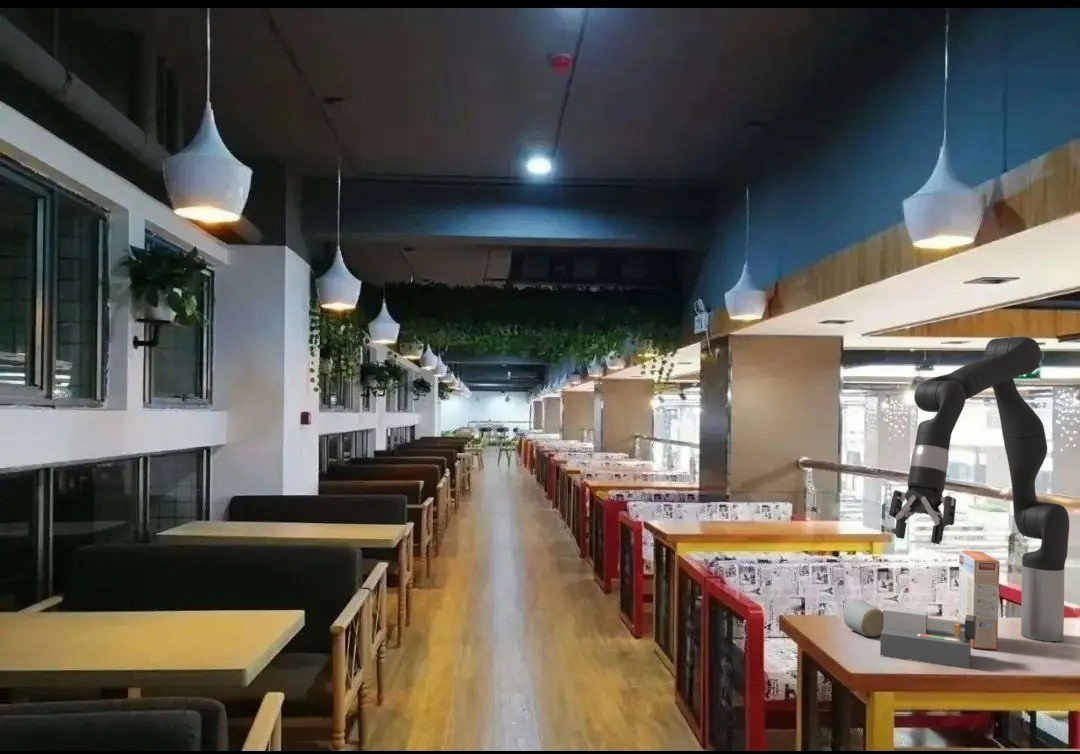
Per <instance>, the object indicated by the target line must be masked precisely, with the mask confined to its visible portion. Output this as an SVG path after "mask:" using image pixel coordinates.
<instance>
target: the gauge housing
mask: <svg viewBox="0 0 1080 754" xmlns="http://www.w3.org/2000/svg"><path fill="white" fill-rule="evenodd" d="M883 613H884V626H883V630H882V632H881V635H880V643H879V644H880V649H879V651H880V653H879V655H883V656H882V657H886V656H889V657H888V658H893V657H895V658H894V659H899V658H902V659H901V660H906V659H912V660H911V661H913V660H918V661H917V662H920V661H924V662H923V663H927V662H930V663H929V664H934V663H937V664H936V665H941V666H950V667H956V668H964V669H970V668H969V667H970V660H971V654H972V653H971V652H972V651H971V649H972V647H971V639H965V641H964V640H960V633H959V639H956V638H955V632H952V631H944V630H936V629H928V628H926V618H929V615H928V614H929V612H928V610H921V609H914V608H904V607H896V606H895V607H894V606H888V605H887V606H885V607H884V610H883Z"/></svg>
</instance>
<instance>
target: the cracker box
mask: <svg viewBox="0 0 1080 754" xmlns="http://www.w3.org/2000/svg"><path fill="white" fill-rule="evenodd" d="M958 560H959V562H958V563H959V564H958V565H959V566H958V602H957V603H958V609H957V613H958V614H957V621H959V622H965V618H966V615H973V616H976V635H975V640H973V639H971V649H981V650H991V651H993V650H995V651H998V641H999V640H998V637H999V636H998V635H999V634H998V632H999V631H998V630H999V602H1000V601H999V595H1000V592H999V590H1000V561H999V560H998V559H996V558H994V557H992V556H990V555H988V554H987V553H985V552H983V551H978V550H977V551H976V550H975V551H974V550H959V559H958Z"/></svg>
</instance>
